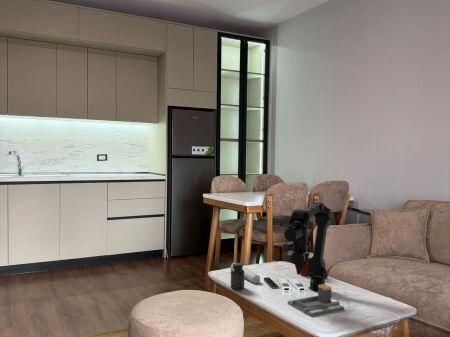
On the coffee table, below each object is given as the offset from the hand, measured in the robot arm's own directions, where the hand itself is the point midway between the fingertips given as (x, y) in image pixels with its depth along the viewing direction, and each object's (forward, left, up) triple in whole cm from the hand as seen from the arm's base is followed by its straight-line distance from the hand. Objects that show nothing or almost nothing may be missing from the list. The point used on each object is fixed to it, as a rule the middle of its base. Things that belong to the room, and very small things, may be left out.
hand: (300, 271), depth 186 cm
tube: (+5, -40, -14) cm, 43 cm away
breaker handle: (-6, +10, -12) cm, 16 cm away
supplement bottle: (+18, -26, -13) cm, 34 cm away
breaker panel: (-1, +10, -13) cm, 16 cm away
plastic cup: (-27, -30, -13) cm, 43 cm away
